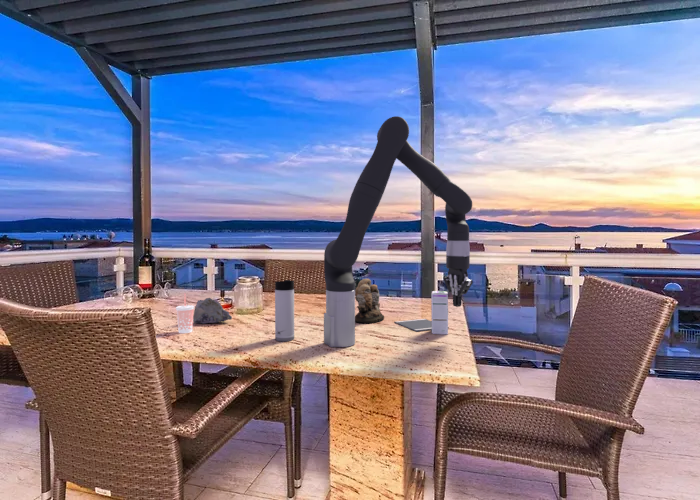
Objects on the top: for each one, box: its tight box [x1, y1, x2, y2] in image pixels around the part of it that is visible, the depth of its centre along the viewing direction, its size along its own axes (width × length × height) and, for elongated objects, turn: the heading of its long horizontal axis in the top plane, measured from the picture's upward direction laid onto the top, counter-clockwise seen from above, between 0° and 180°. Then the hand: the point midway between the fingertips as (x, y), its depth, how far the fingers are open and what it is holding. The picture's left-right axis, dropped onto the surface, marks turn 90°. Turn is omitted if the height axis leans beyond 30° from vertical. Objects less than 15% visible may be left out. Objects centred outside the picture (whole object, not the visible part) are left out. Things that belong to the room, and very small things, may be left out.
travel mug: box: [274, 279, 295, 343], centre depth 136 cm, size 6×7×20 cm
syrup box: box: [430, 290, 449, 335], centre depth 146 cm, size 6×6×14 cm
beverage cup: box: [175, 292, 195, 334], centre depth 146 cm, size 6×6×14 cm
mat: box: [394, 318, 450, 333], centre depth 157 cm, size 14×16×1 cm
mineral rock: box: [193, 297, 233, 325], centre depth 160 cm, size 13×11×10 cm
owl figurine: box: [355, 278, 385, 325], centre depth 167 cm, size 18×12×17 cm, turn 159°
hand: (457, 306), depth 137 cm, fingers closed
